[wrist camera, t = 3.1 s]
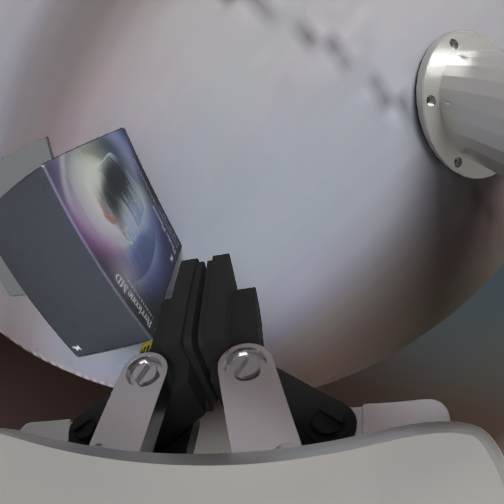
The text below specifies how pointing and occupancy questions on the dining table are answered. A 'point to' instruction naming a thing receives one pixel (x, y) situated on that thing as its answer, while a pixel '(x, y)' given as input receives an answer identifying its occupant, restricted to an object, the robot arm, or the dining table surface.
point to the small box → (91, 245)
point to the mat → (8, 174)
